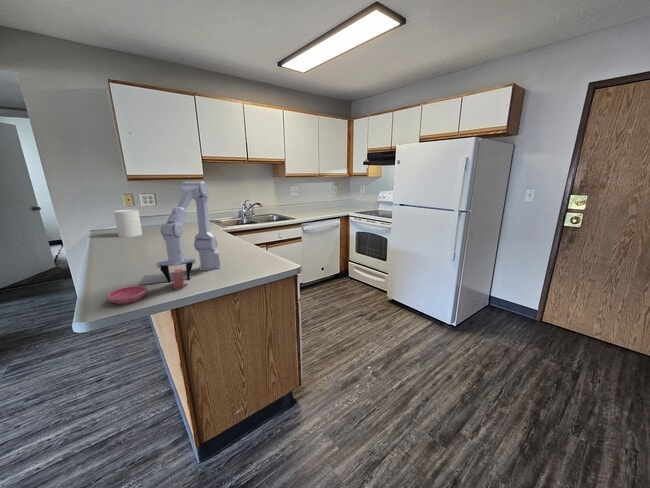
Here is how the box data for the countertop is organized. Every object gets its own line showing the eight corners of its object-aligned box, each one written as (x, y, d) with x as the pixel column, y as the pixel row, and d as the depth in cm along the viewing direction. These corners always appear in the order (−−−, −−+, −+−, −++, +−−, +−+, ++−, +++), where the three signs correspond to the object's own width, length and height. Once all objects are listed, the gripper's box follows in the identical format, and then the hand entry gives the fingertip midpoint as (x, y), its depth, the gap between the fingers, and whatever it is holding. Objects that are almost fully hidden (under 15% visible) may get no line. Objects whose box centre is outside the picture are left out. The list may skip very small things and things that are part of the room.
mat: (191, 270, 133) (191, 269, 133) (190, 278, 122) (190, 277, 122) (144, 276, 125) (144, 275, 124) (138, 285, 114) (138, 284, 114)
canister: (146, 234, 219) (142, 210, 214) (125, 237, 205) (120, 212, 200) (135, 232, 226) (131, 209, 221) (114, 235, 212) (109, 211, 208)
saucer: (120, 309, 94) (119, 301, 93) (101, 302, 99) (99, 294, 98) (155, 295, 105) (153, 288, 104) (135, 290, 110) (134, 283, 109)
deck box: (184, 281, 120) (182, 268, 118) (183, 288, 112) (181, 275, 110) (176, 282, 119) (174, 269, 117) (174, 289, 111) (172, 276, 109)
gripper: (153, 255, 105) (158, 286, 108) (193, 251, 111) (197, 281, 114) (155, 250, 111) (160, 281, 114) (194, 247, 117) (197, 276, 120)
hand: (179, 280), depth 115 cm, fingers open, 7 cm apart
